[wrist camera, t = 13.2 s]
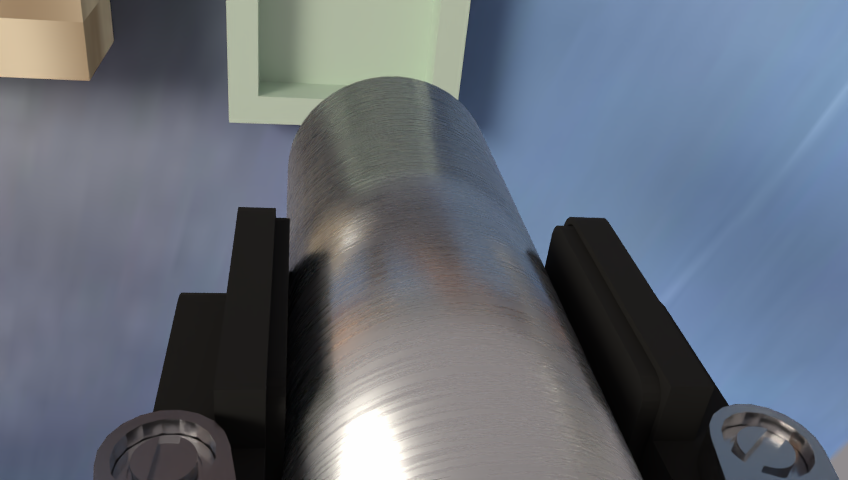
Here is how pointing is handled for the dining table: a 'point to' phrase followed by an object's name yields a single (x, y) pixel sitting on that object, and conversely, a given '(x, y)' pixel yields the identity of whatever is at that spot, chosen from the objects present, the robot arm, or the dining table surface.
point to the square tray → (335, 50)
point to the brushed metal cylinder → (426, 308)
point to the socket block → (54, 38)
